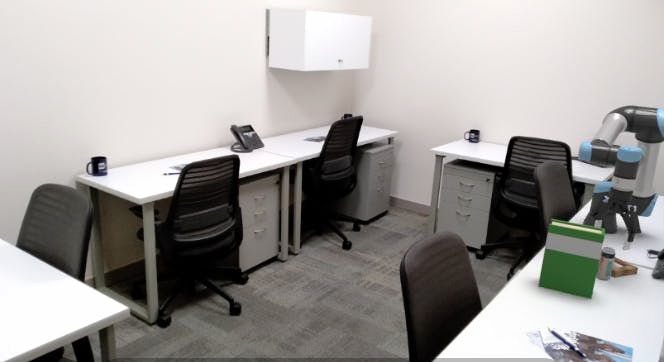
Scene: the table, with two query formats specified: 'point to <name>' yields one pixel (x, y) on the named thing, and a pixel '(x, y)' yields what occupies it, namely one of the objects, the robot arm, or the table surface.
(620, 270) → the picture frame
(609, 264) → the beer can
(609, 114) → the robot arm
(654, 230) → the table surface
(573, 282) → the hardback book
